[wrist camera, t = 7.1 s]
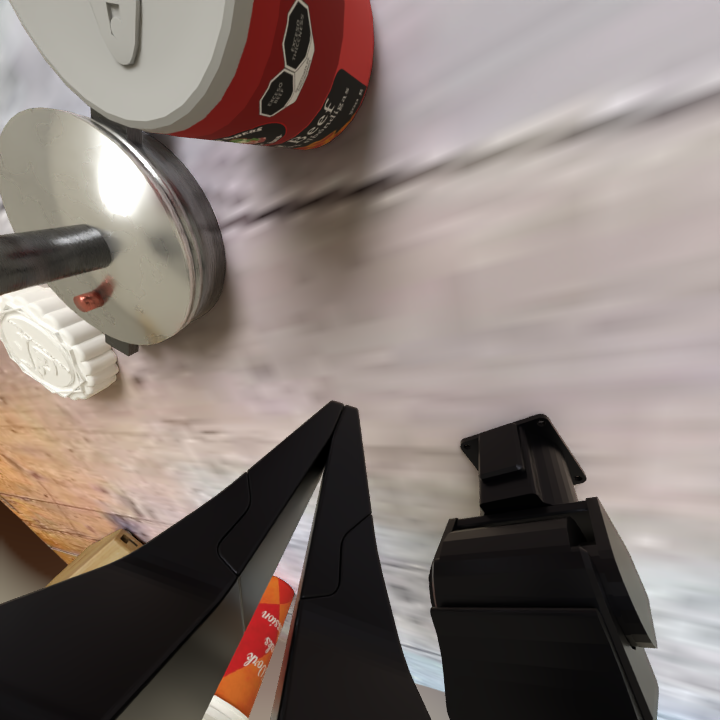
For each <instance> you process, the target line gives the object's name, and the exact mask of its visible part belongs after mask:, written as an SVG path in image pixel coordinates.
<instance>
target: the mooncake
mask: <svg viewBox="0 0 720 720" xmlns="http://www.w3.org/2000/svg"><path fill="white" fill-rule="evenodd" d="M0 340H1V341H2V342H3V343H4V346H5V348H6V350H7V352H8V355H9V357H10V358H11V359H12V360H13V361H14V362H16V363H17V364H18V365H19V367H20V368H21V370H22V371H23V372H24V373H25V374H27V375H29V376H30V377H32V378H33V379H34V380H36V381H38V382H40V383H41V384H42V385H43V386H44V387H45V388H47V389H48V390H49V391H50V392H52V393H57V394H58V395H60V396H61V397H65V398H66V397H69V398H70V399H72V400H79V399H88V398H90V397H91V396H93V395H95V394H97V393H98V392H100V391H102V390H103V389H105V388H107V387H108V386H110V385H111V383H113V382H115V381H116V379H117V377H116V374H117V373H118V372H119V369H118V366H117V364H116V363H115V362H116V361H117V357H116V354H115V353H114V351H113V350H112V349H111V346H110V345H109V344H107V343H105V335H104V334H102V332H101V331H99V330H98V329H96V328H95V327H93V326H91V325H90V324H89V323H87V322H86V321H85V320H83V319H82V318H81V317H79V316H78V315H77V314H76V313H75V312H74V311H72V310H71V309H70V308H69V307H68V306H67V305H66V304H65V303H64V302H63V301H62V300H61V299H60V298H59V297H58V296H57V295H56V294H55V292H54V291H53V290H52V289H51V288H43V287H41V286H34V287H30V288H26V289H22V290H18V291H15V292H11V293H7V294H4V295H3V296H0Z"/></svg>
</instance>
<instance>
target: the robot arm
mask: <svg viewBox="0 0 720 720" xmlns="http://www.w3.org/2000/svg"><path fill="white" fill-rule="evenodd" d="M539 421H544V422H542V423H539ZM466 445H469V446H466ZM460 447H461V449H462V450H463V452H464V453H465V454H466V456H467V457H468V458H469V460H470V461H471V462H472V463H473V465H474V466H475V467H476V469H477V470H478V471H479V494H480V516H478V517H471V518H465V519H458V518H454V519H449V521H448V523H447V526H446V529H445V531H444V534H443V536H442V539H441V541H440V544H439V547H438V549H437V552H436V554H435V557H434V559H433V562H432V565H431V569H430V574H429V590H430V599H431V603H432V607H431V610H430V613H431V617H432V620H433V624H434V627H435V630H436V633H437V637H438V642H439V647H440V652H441V657H442V665H443V673H444V684H445V696H446V707H447V712H448V716H449V718H450V720H657V710H658V697H659V687H658V684H657V680H656V678H655V675H654V672H653V670H652V667H651V665H650V662H649V660H648V657H647V655H646V652H645V650H644V648H657V641H656V636H655V631H654V625H653V620H652V615H651V609H650V604H649V599H648V596H647V593H646V591H645V589H644V586H643V584H642V582H641V579H640V577H639V575H638V572H637V570H636V568H635V565H634V563H633V561H632V559H631V556H630V554H629V552H628V550H627V548H626V546H625V544H624V543H623V541H622V539H621V537H620V536H619V534H618V532H617V530H616V529H615V527H614V525H613V523H612V522H611V520H610V518H609V516H608V515H607V513H606V511H605V509H604V508H603V506H602V504H601V502H600V501H599V499H598V497H592V498H586V500H585V501H578V499H577V495H576V492H575V489H574V486H573V485H575V484H580V483H584V482H585V481H586V476H585V473H584V471H583V470H582V468H581V467H580V465H579V464H578V462H577V461H576V459H575V457H574V456H573V454H572V453H571V451H570V450H569V448H568V447H567V445H566V444H565V442H564V441H563V439H562V438H561V436H560V435H559V433H558V432H557V430H556V429H555V427H554V426H553V424H552V423H551V421H550V419H549V418H548V417H547V416H546V415H544V414H537V415H534V416H531V417H528V418H525V419H522V420H519V421H516V422H513V423H510V424H507V425H504V426H501V427H498V428H495V429H492V430H489V431H486V432H483V433H480V434H477V435H474V436H471V437H468V438H465V439H463V440H461V446H460ZM323 471H324V472H323ZM322 473H323V477H322V481H321V485H320V490H319V495H318V499H317V504H316V509H315V513H314V518H313V523H312V527H311V532H310V537H309V541H308V546H307V551H306V555H305V560H304V565H303V569H302V574H301V579H300V583H299V588H298V592H297V597H296V602H295V606H294V611H293V616H292V620H291V625H290V630H289V634H288V639H287V644H286V649H285V653H284V658H283V663H282V667H281V672H280V676H279V681H278V686H277V690H276V695H275V700H274V704H273V709H272V714H271V718H270V720H431V718H430V716H429V714H428V711H427V710H426V707H425V705H424V703H423V701H422V698H421V696H420V694H419V692H418V690H417V687H416V685H415V683H414V681H413V679H412V676H411V674H410V671H409V669H408V666H407V663H406V660H405V657H404V654H403V651H402V648H401V644H400V641H399V637H398V633H397V629H396V625H395V621H394V617H393V613H392V609H391V605H390V601H389V597H388V594H387V590H386V586H385V582H384V578H383V573H382V569H381V564H380V560H379V555H378V551H377V545H376V538H375V532H374V525H373V518H372V515H371V513H372V511H371V503H370V496H369V488H368V480H367V473H366V465H365V457H364V450H363V442H362V434H361V426H360V419H359V411H358V409H357V408H355V407H352V406H349V405H345V406H344V404H343V403H340V402H337V401H330V402H329V403H328V404H326V405H325V406H324V407H323V408H322V409H320V410H319V411H318V412H317V413H316V414H314V415H313V416H312V417H311V418H310V419H308V420H307V421H306V422H305V423H304V424H302V425H301V426H300V427H299V428H298V429H296V430H295V431H294V432H293V433H292V434H291V435H289V436H288V437H287V438H286V439H285V440H283V441H282V442H281V443H280V444H279V445H277V446H276V447H275V448H274V449H273V450H271V451H270V452H269V453H268V454H267V455H265V456H264V457H263V458H262V459H261V460H259V461H258V462H257V463H256V464H255V465H253V466H252V467H251V468H250V469H249V470H248V471H247V472H245V473H244V474H242V475H241V476H240V477H239V478H238V479H236V480H235V481H234V482H233V483H232V484H230V485H229V486H228V487H226V488H225V489H224V490H223V491H221V492H220V493H219V494H218V495H216V496H215V497H213V498H212V499H211V500H209V501H208V502H206V503H205V504H203V505H202V506H201V507H199V508H198V509H196V510H195V511H193V512H192V513H190V514H189V515H187V516H186V517H184V518H183V519H181V520H180V521H179V522H177V523H176V524H174V525H173V526H171V527H170V528H168V529H167V530H165V531H164V532H162V533H161V534H159V535H158V536H156V537H155V538H153V539H152V540H150V541H149V542H147V543H146V544H144V545H143V546H141V547H140V548H138V549H136V550H135V551H133V552H131V553H130V554H128V555H126V556H124V557H122V558H120V559H118V560H116V561H114V562H111V563H109V564H107V565H104V566H102V567H99V568H96V569H94V570H91V571H88V572H86V573H83V574H80V575H77V576H75V577H72V578H69V579H67V580H64V581H61V582H58V583H56V584H53V585H50V586H48V587H45V588H42V589H39V590H37V591H34V592H32V593H29V594H26V595H23V596H21V597H18V598H15V599H12V600H10V601H7V602H4V603H2V604H0V720H202V719H203V717H204V714H205V712H206V710H207V708H208V706H209V704H210V702H211V700H212V698H213V696H214V694H215V692H216V690H217V688H218V686H219V684H220V682H221V680H222V678H223V676H224V674H225V672H226V670H227V668H228V666H229V664H230V661H231V659H232V657H233V655H234V653H235V651H236V649H237V647H238V645H239V643H240V641H241V639H242V637H243V635H244V632H245V631H246V629H247V627H248V625H249V623H250V621H251V619H252V617H253V615H254V612H255V610H256V608H257V606H258V604H259V602H260V600H261V598H262V596H263V594H264V592H265V590H266V588H267V586H268V584H269V582H270V580H271V578H272V576H273V574H274V572H275V570H276V568H277V566H278V564H279V562H280V559H281V557H282V555H283V553H284V551H285V549H286V547H287V545H288V543H289V541H290V539H291V537H292V535H293V533H294V531H295V529H296V527H297V525H298V523H299V521H300V519H301V517H302V515H303V513H304V511H305V509H306V507H307V504H308V502H309V500H310V498H311V496H312V494H313V492H314V490H315V488H316V486H317V484H318V482H319V480H320V478H321V476H322ZM576 476H579V477H576Z"/></svg>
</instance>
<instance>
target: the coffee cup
mask: <svg viewBox="0 0 720 720" xmlns="http://www.w3.org/2000/svg"><path fill="white" fill-rule="evenodd" d="M293 596H294V591H293V589H292V588H291V587H290V586H289V585H288V584H287V583H286V582H284V581H283V580H281V579H279V578H277V577H275V576H272V578H271V580H270V582H269V584H268V586H267V588H266V590H265V592H264V594H263V596H262V598H261V600H260V602H259V604H258V606H257V608H256V610H255V612H254V615H253V617H252V619H251V621H250V623H249V625H248V627H247V629H246V631H245V632H244V635H243V637H242V639H241V641H240V643H239V645H238V647H237V649H236V651H235V653H234V655H233V657H232V659H231V661H230V664H229V666H228V668H227V670H226V672H225V674H224V676H223V678H222V680H221V682H220V684H219V686H218V688H217V690H216V692H215V694H214V696H213V698H212V700H211V702H210V704H209V706H208V708H207V710H206V712H205V714H204V717H203V719H202V720H249V719H248V717H249V715H250V712H251V709H252V707H253V704H254V701H255V699H256V696H257V693H258V691H259V688H260V685H261V683H262V680H263V677H264V675H265V672H266V669H267V667H268V664H269V661H270V659H271V656H272V653H273V651H274V648H275V645H276V643H277V640H278V637H279V635H280V632H281V629H282V627H283V624H284V621H285V618H286V616H287V613H288V610H289V607H290V605H291V602H292V599H293Z"/></svg>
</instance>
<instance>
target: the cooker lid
mask: <svg viewBox="0 0 720 720" xmlns="http://www.w3.org/2000/svg"><path fill="white" fill-rule="evenodd" d="M0 194H1V197H2V201H3V204H4V208H5V210H6V213H7V216H8V218H9V221H10V223H11V226H12V228H13V230H14V232H15V233H12V234H5V235H0V295H3V294H7V293H11V292H15V291H18V290H22V289H26V288H30V287H34V286H38V285H41V284H45V283H47V284H48V286H49V287H50V288H51V289H52V290H53V291H54V292H55V294H56V295H57V296H58V297H59V298H60V299H61V300H62V301H63V302H64V303H65V304H66V305H67V306H68V307H69V308H70V309H71V310H72V311H74V312H75V313H76V314H77V315H78V316H79V317H81V318H82V319H83V320H85V321H86V322H87V323H89V324H90V325H91V326H93V327H95V328H96V329H98V330H99V331H101V332H103V333H105V334H107V335H108V336H110V337H113V338H115V339H117V340H120V341H123V342H127V343H130V344H136V345H151V344H157V343H159V342H162V341H165V340H166V339H168V338H170V337H172V336H173V335H175V334H176V333H178V332H179V331H180V330H181V329H182V328H183V327H184V326H185V324H186V323H187V321H188V319H189V317H190V315H191V312H192V310H193V305H194V301H195V290H196V282H195V270H194V264H193V258H192V254H191V251H190V247H189V243H188V240H187V238H186V235H185V232H184V230H183V227H182V224H181V222H180V220H179V218H178V216H177V214H176V212H175V210H174V208H173V206H172V204H171V203H170V201H169V199H168V197H167V196H166V194H165V192H164V191H163V189H162V188H161V186H160V185H159V183H158V182H157V180H156V179H155V178H154V176H153V175H152V173H151V172H150V171H149V170H148V169H147V167H146V166H145V165H144V164H143V162H142V161H141V160H140V159H139V158H138V157H137V156H136V155H135V154H134V153H133V152H132V151H131V150H130V149H129V148H128V147H127V146H126V145H125V144H124V143H123V142H122V141H120V140H119V139H118V138H117V137H116V136H114V135H113V134H112V133H111V132H109V131H108V130H106V129H105V128H103V127H102V126H100V125H99V124H97V123H96V122H94V121H92V120H90V119H88V118H86V117H84V116H81V115H78V114H75V113H72V112H69V111H63V110H56V109H49V108H31V109H27V110H24V111H22V112H19V113H18V114H16V115H15V116H14V117H12V118H11V119H10V120H9V122H8V123H7V124H6V126H5V127H4V129H3V131H2V133H1V136H0Z"/></svg>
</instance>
